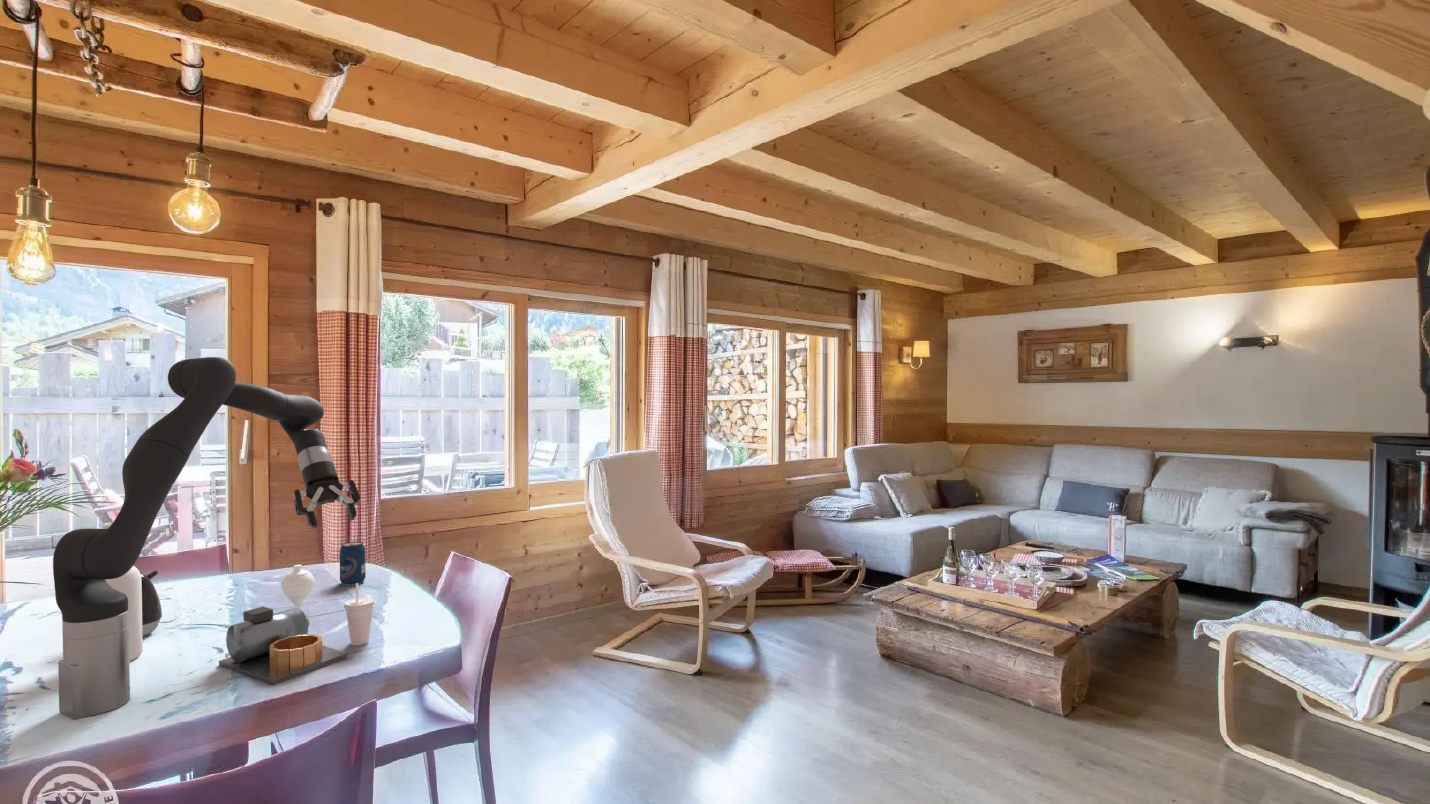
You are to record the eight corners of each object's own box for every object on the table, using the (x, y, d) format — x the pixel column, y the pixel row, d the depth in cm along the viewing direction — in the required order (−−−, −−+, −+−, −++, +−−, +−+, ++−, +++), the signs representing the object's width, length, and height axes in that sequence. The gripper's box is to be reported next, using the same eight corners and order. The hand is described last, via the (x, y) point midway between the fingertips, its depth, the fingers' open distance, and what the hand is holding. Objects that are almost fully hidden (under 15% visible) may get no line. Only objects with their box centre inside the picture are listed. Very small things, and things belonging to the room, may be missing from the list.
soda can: (335, 585, 208) (334, 546, 208) (348, 579, 215) (347, 540, 215) (357, 586, 208) (357, 546, 207) (370, 579, 215) (369, 541, 214)
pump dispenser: (173, 630, 170) (172, 568, 170) (127, 645, 160) (126, 580, 160) (142, 626, 173) (141, 565, 173) (95, 641, 163) (94, 576, 163)
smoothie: (338, 644, 161) (337, 584, 161) (363, 635, 167) (362, 577, 166) (356, 649, 158) (355, 588, 158) (381, 640, 164) (380, 581, 164)
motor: (272, 684, 139) (272, 631, 139) (218, 665, 149) (218, 615, 149) (349, 656, 154) (349, 608, 154) (296, 640, 163) (295, 595, 163)
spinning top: (274, 613, 183) (273, 567, 183) (298, 604, 190) (297, 560, 190) (298, 615, 181) (297, 569, 181) (321, 606, 189) (321, 562, 188)
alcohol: (100, 670, 146) (97, 528, 145) (82, 662, 150) (79, 524, 150) (150, 656, 154) (148, 521, 153) (131, 649, 158) (129, 517, 157)
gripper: (287, 465, 172) (304, 522, 166) (350, 455, 181) (368, 509, 176) (284, 480, 176) (300, 536, 171) (344, 470, 186) (362, 523, 181)
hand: (334, 522), depth 173 cm, fingers open, 8 cm apart
